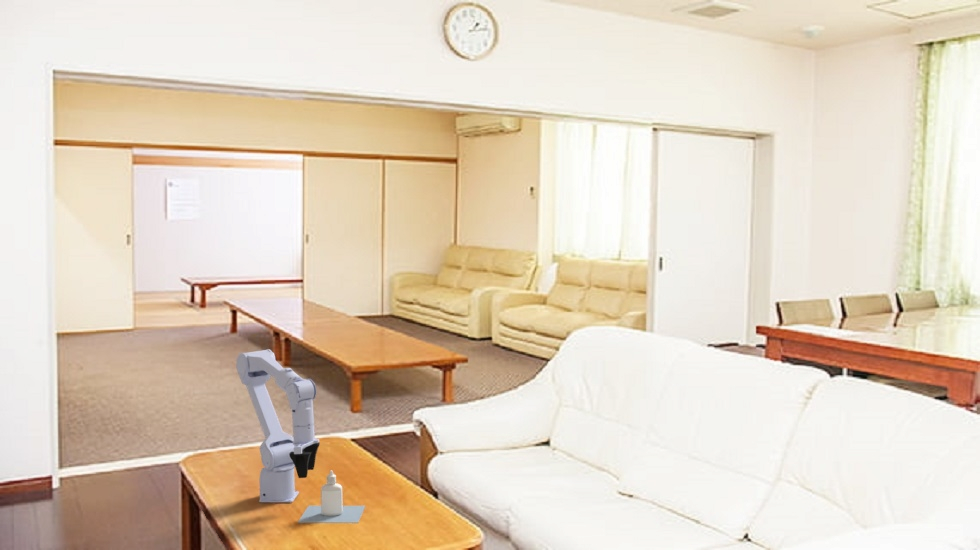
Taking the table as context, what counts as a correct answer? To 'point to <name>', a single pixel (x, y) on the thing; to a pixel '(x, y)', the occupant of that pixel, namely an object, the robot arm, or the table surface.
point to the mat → (348, 516)
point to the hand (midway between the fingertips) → (306, 473)
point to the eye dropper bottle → (331, 497)
